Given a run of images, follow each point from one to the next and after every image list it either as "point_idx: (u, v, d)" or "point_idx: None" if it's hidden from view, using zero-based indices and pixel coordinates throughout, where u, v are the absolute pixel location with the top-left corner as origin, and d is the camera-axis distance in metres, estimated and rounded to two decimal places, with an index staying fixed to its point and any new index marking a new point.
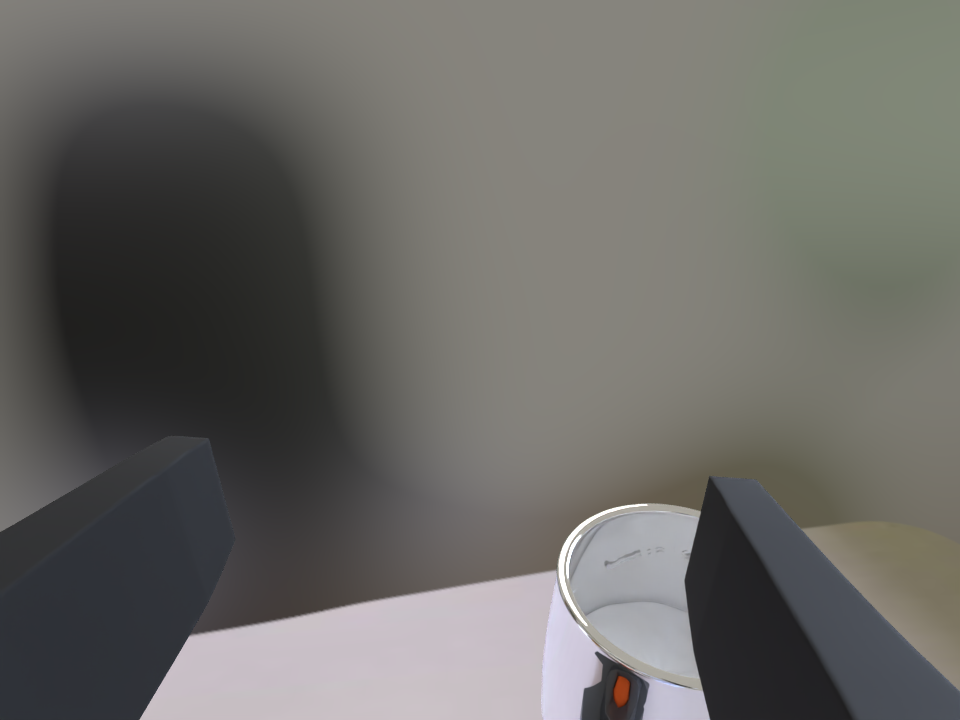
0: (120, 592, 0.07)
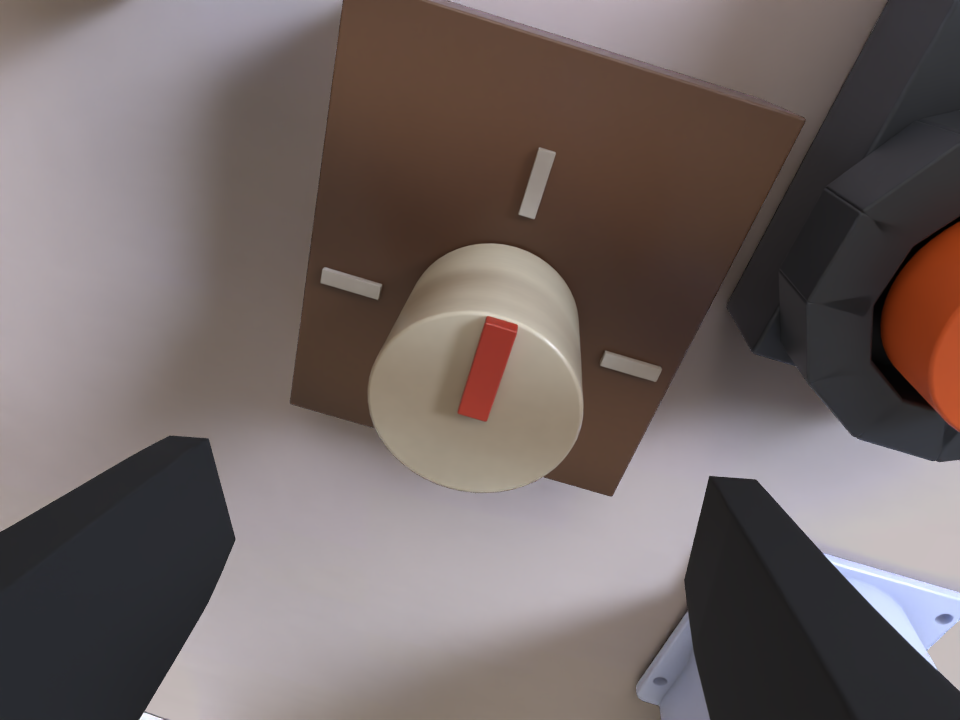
0: (120, 592, 0.07)
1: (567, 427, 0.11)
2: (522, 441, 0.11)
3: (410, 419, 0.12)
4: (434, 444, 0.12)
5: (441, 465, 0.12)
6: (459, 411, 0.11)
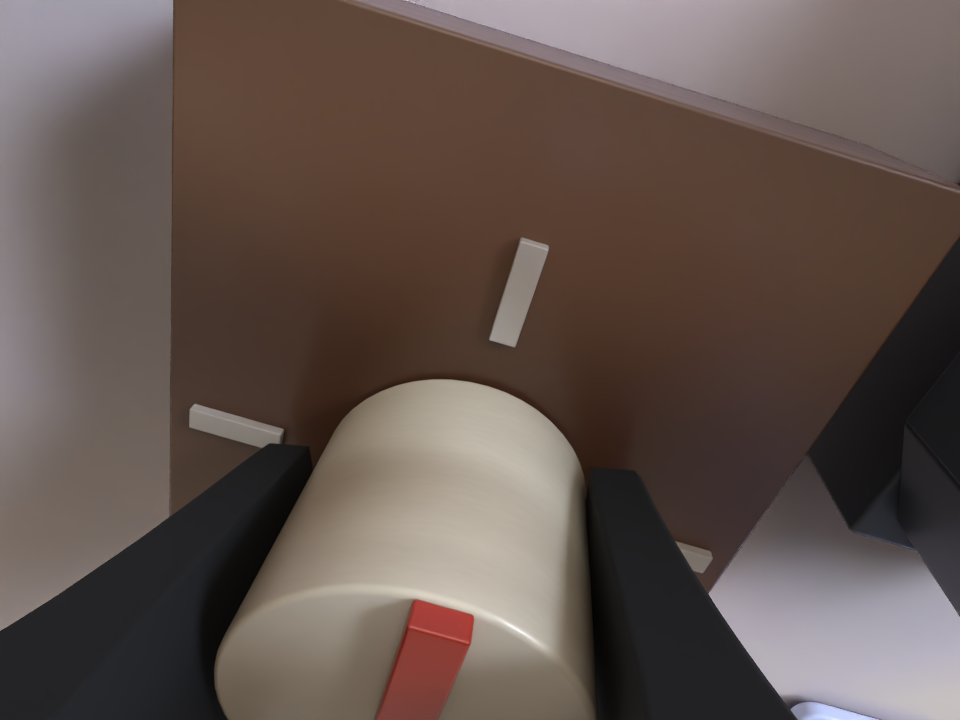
0: None
1: None
2: None
3: None
4: None
5: None
6: None
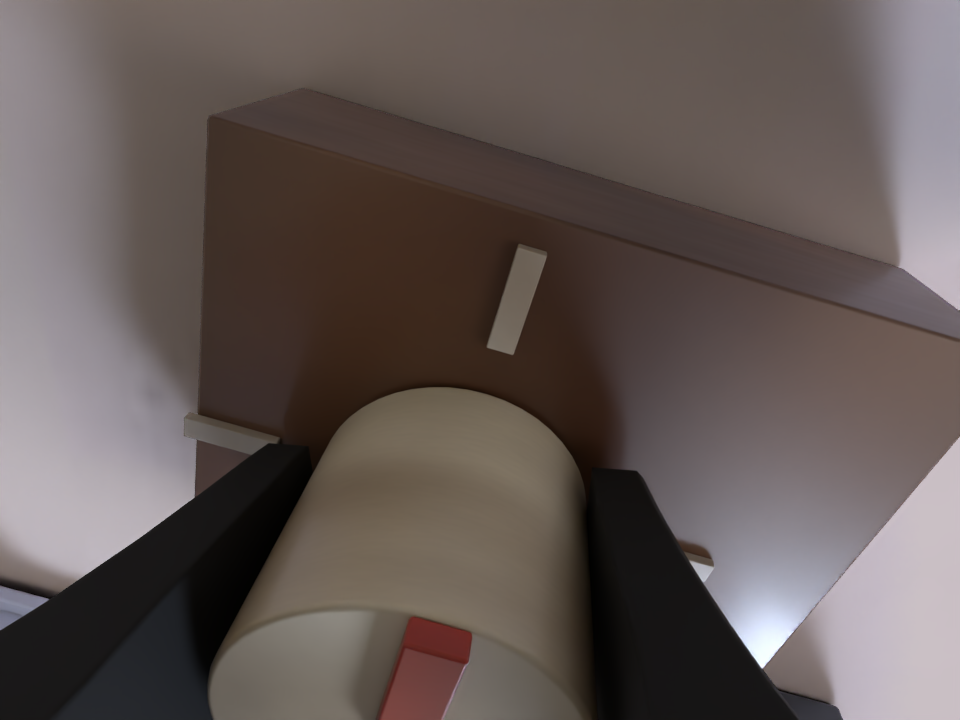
0: (240, 605, 0.07)
1: None
2: None
3: None
4: None
5: None
6: None
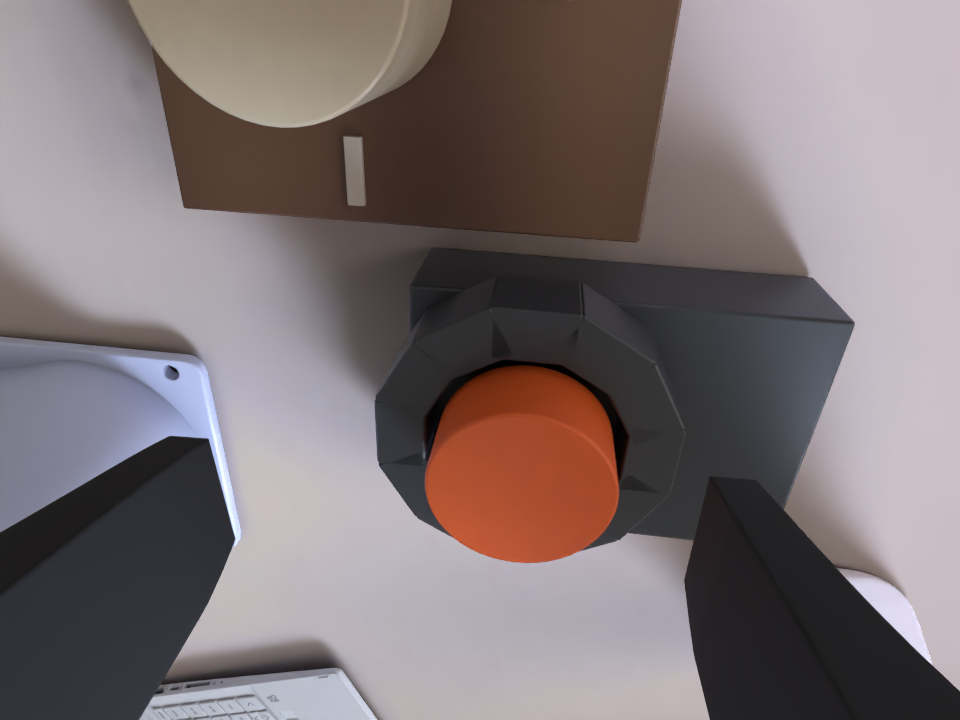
0: (120, 593, 0.07)
1: None
2: (340, 0, 0.08)
3: (188, 13, 0.08)
4: (233, 50, 0.08)
5: (255, 86, 0.09)
6: None
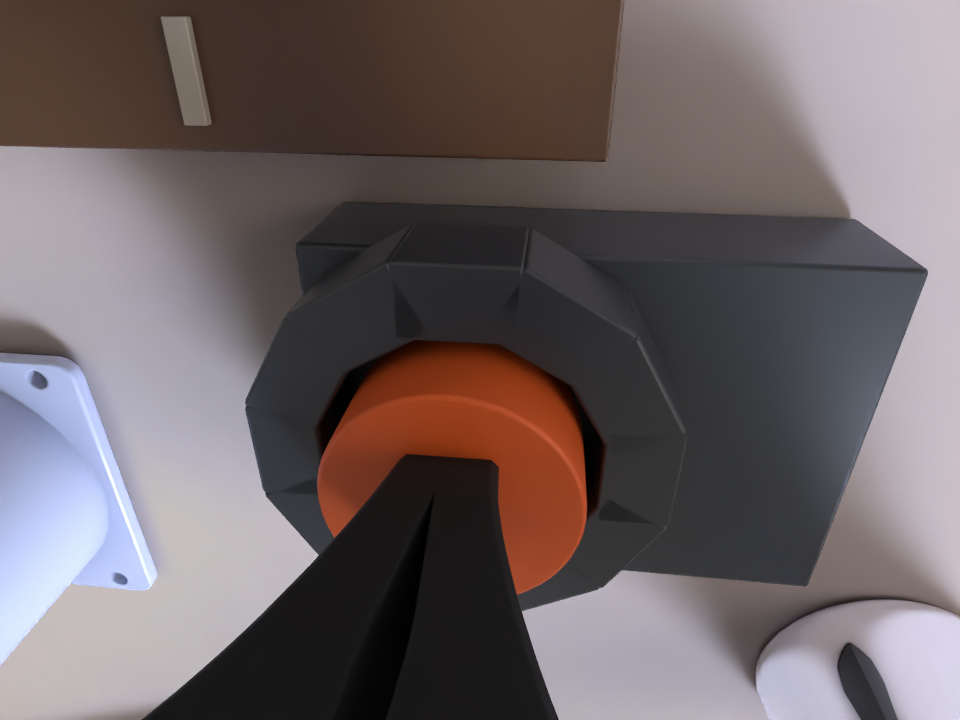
0: (410, 622, 0.07)
1: None
2: None
3: None
4: None
5: None
6: None
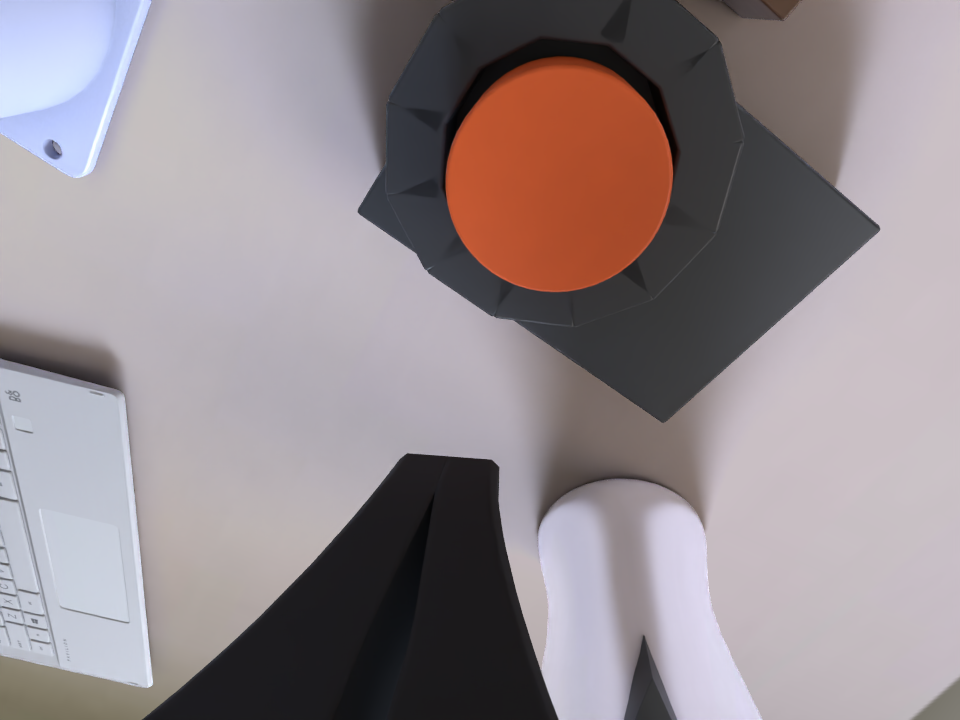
0: (409, 623, 0.07)
1: None
2: None
3: None
4: None
5: None
6: None
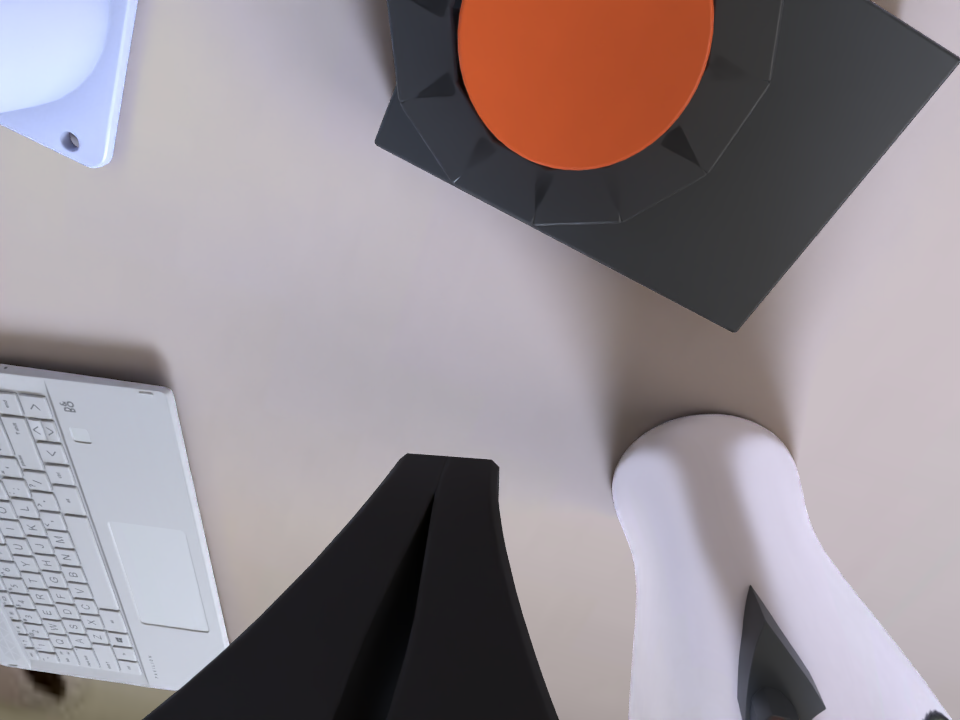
0: (410, 623, 0.07)
1: None
2: None
3: None
4: None
5: None
6: None
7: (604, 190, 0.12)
